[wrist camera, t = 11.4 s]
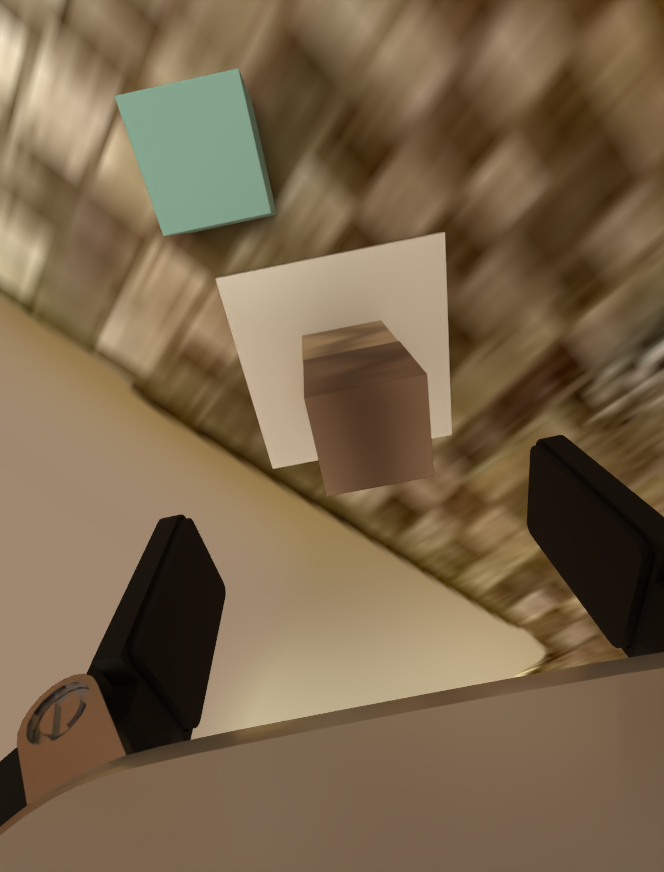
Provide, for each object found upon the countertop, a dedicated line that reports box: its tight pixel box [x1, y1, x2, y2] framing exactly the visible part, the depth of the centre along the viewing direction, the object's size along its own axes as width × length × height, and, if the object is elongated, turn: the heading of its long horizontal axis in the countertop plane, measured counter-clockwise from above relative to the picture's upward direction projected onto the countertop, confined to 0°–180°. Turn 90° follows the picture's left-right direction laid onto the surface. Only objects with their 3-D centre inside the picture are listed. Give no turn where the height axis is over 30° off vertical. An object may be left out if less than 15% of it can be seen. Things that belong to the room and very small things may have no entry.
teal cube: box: [115, 68, 277, 236], centre depth 23 cm, size 6×6×6 cm
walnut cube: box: [303, 341, 434, 496], centre depth 23 cm, size 6×6×6 cm
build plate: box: [216, 232, 452, 469], centre depth 31 cm, size 16×16×1 cm
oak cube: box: [302, 320, 398, 362], centre depth 28 cm, size 6×6×6 cm
